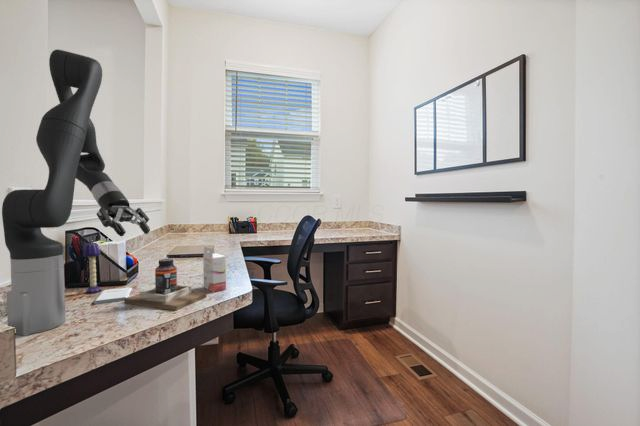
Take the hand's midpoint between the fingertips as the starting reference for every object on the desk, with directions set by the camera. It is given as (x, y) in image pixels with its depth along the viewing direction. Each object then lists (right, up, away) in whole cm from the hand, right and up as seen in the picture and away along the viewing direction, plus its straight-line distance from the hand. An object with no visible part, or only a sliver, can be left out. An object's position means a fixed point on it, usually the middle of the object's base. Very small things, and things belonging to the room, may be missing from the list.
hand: (136, 233), depth 93 cm
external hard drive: (-7, -21, 0) cm, 22 cm away
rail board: (+12, -20, -3) cm, 24 cm away
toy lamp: (-17, -20, +5) cm, 27 cm away
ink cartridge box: (+22, -20, +9) cm, 31 cm away
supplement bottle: (+11, -19, -3) cm, 23 cm away
